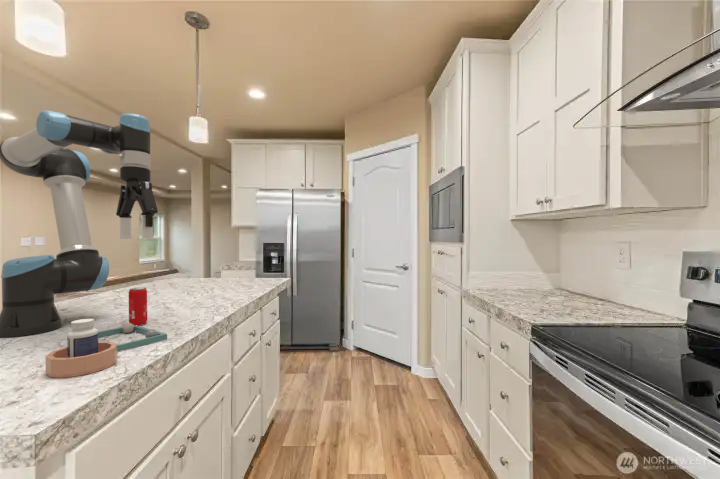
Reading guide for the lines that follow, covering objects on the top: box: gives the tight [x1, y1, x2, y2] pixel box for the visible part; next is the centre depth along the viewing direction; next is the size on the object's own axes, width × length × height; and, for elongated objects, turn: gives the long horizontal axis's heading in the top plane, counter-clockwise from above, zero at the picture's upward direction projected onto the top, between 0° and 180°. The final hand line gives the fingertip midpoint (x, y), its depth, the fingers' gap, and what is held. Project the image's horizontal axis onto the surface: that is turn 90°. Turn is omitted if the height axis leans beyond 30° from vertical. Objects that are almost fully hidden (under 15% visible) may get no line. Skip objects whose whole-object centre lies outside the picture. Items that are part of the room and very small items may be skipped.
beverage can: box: [128, 287, 148, 326], centre depth 113 cm, size 5×5×12 cm
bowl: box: [45, 341, 118, 379], centre depth 76 cm, size 12×12×4 cm
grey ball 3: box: [144, 328, 158, 338], centre depth 95 cm, size 3×3×3 cm
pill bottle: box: [66, 318, 99, 358], centre depth 76 cm, size 5×5×10 cm
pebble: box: [121, 322, 134, 334], centre depth 103 cm, size 3×3×3 cm
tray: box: [98, 325, 168, 352], centre depth 95 cm, size 20×16×2 cm
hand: (136, 238), depth 101 cm, fingers open, 13 cm apart
